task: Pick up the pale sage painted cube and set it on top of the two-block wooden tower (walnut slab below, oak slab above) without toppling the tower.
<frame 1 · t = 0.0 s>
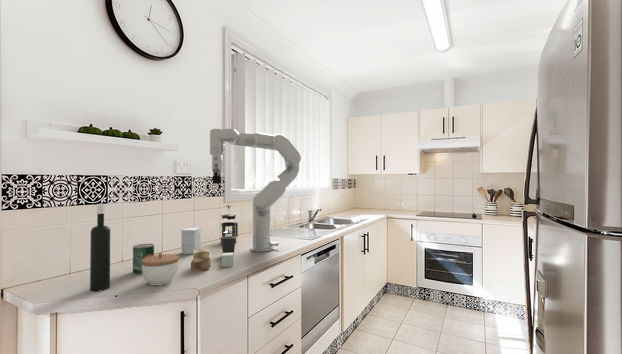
hand: (217, 183, 165), 37 cm above the countertop, tool pointing down, fingers open, 9 cm apart
french press: (229, 242, 188), on the countertop
canned tomato: (143, 272, 128), on the countertop
lidded bowl: (160, 283, 114), on the countertop
coffee cup: (228, 256, 155), on the countertop
walnut block: (200, 269, 132), on the countertop, touching oak block
wine bottle: (100, 289, 108), on the countertop
supplement box: (191, 252, 162), on the countertop
sage cube: (227, 265, 138), on the countertop
oak block: (201, 259, 132), point 4 cm above the countertop, touching walnut block
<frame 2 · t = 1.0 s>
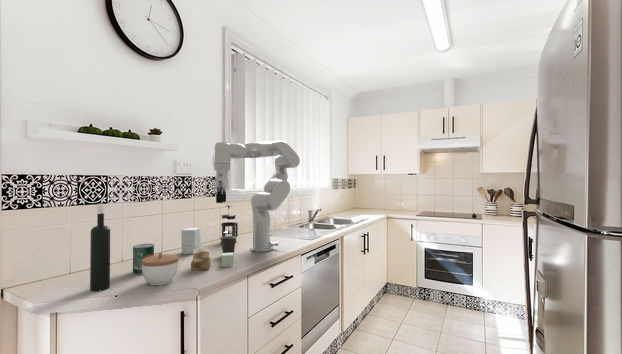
hand: (221, 202, 149), 28 cm above the countertop, tool pointing down, fingers open, 9 cm apart
nothing on the countertop moved.
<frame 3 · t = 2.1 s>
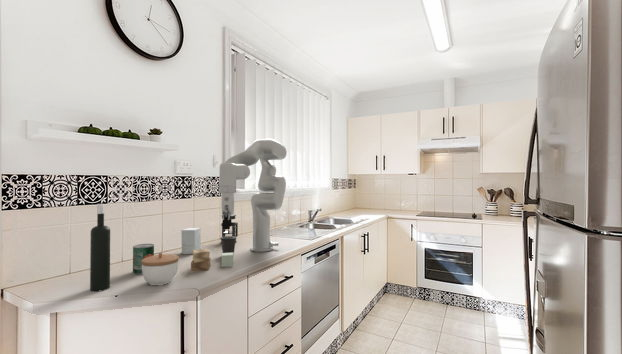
hand: (227, 227, 138), 17 cm above the countertop, tool pointing down, fingers open, 9 cm apart
nothing on the countertop moved.
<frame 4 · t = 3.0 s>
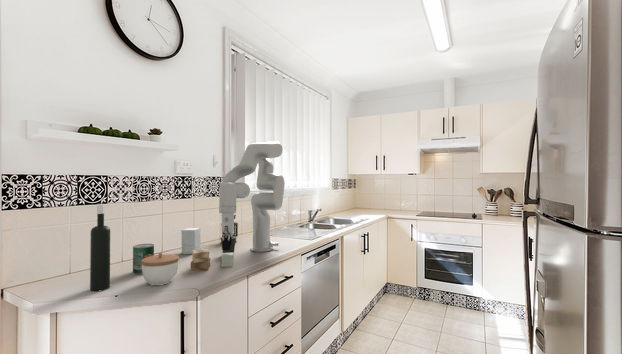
hand: (227, 247, 138), 8 cm above the countertop, tool pointing down, fingers open, 9 cm apart
nothing on the countertop moved.
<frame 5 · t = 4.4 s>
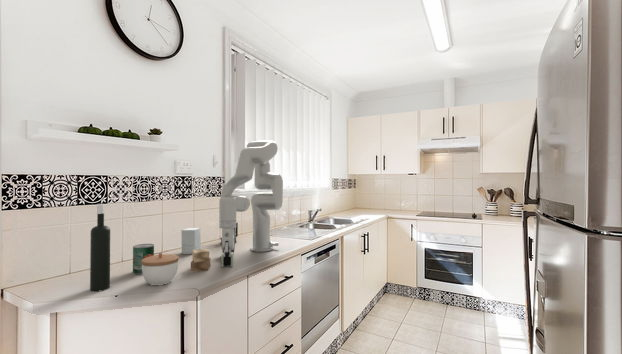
hand: (227, 263, 138), 0 cm above the countertop, tool pointing down, fingers closed on sage cube, 5 cm apart
sage cube: (227, 264, 138), on the countertop, touching gripper
everything else where it was.
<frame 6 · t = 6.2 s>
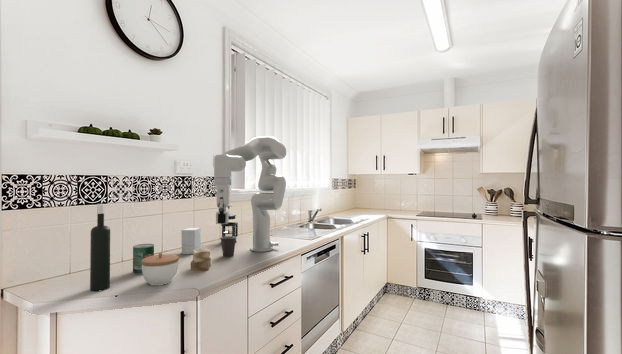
hand: (222, 221, 137), 20 cm above the countertop, tool pointing down, fingers closed on sage cube, 5 cm apart
sage cube: (222, 223, 137), point 19 cm above the countertop, touching gripper
everything else where it was.
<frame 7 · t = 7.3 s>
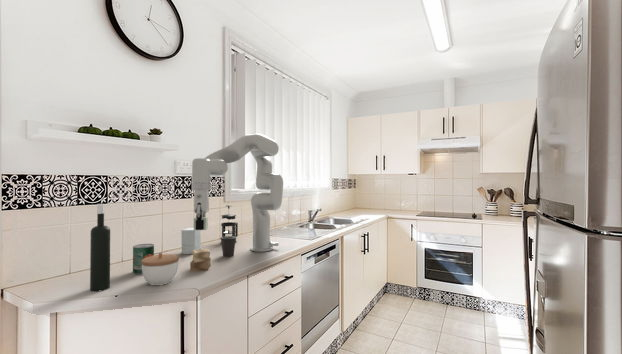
hand: (200, 228, 132), 18 cm above the countertop, tool pointing down, fingers closed on sage cube, 5 cm apart
walnut block: (200, 269, 132), on the countertop
sage cube: (200, 229, 132), point 17 cm above the countertop, touching gripper
oak block: (201, 259, 132), point 4 cm above the countertop
everything else where it was.
when the fingers open (9 cm above the countertop, at t = 9.0 s): sage cube drops 1 cm, resting on oak block.
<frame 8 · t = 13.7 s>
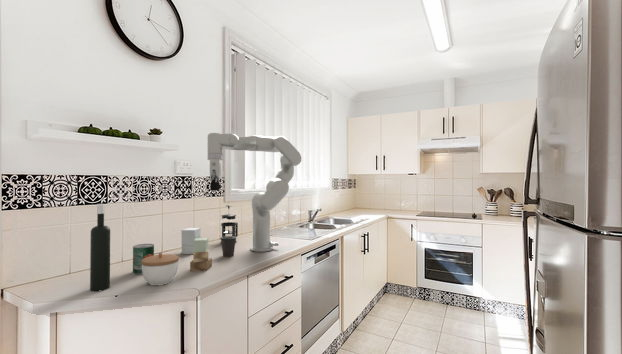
hand: (215, 190, 157), 33 cm above the countertop, tool pointing down, fingers open, 9 cm apart
walnut block: (201, 269, 132), on the countertop, touching oak block
sage cube: (201, 250, 132), point 8 cm above the countertop, touching oak block
oak block: (200, 260, 132), point 4 cm above the countertop, touching sage cube, walnut block
everything else where it was.
at the end: sage cube 0.1 cm off-centre on the walnut block, point 8.0 cm above the walnut block's base; sage cube tilted 0°; oak block 0.3 cm off-centre on the walnut block, point 4.0 cm above the walnut block's base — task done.
